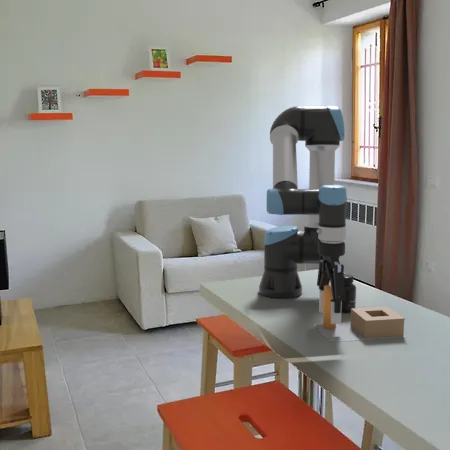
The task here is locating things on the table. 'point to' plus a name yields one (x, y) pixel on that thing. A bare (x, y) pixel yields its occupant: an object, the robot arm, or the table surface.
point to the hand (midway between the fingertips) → (329, 317)
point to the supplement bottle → (349, 294)
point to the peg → (327, 308)
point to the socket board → (343, 333)
